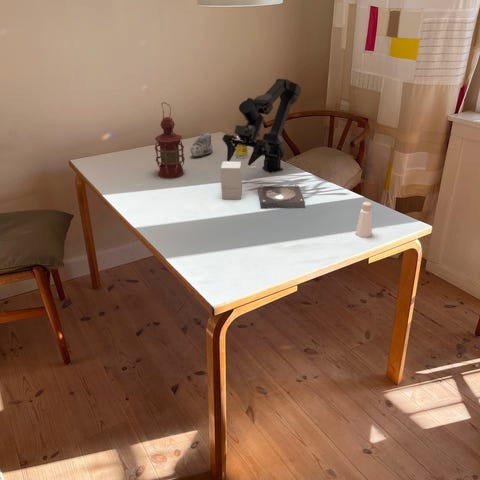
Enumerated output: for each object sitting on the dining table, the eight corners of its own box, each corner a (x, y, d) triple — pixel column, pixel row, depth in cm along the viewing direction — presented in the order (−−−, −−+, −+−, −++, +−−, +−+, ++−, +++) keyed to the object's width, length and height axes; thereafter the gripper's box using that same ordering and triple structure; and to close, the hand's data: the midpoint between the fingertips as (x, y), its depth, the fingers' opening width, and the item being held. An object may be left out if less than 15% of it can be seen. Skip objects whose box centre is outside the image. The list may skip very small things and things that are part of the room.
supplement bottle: (240, 153, 244) (239, 133, 240) (249, 155, 241) (249, 135, 237) (233, 156, 240) (233, 136, 236) (242, 159, 238) (242, 138, 233)
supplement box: (242, 192, 203) (242, 161, 197) (240, 199, 197) (240, 168, 191) (223, 191, 204) (222, 160, 198) (221, 199, 197) (220, 167, 191)
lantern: (190, 175, 220) (186, 103, 206) (165, 181, 214) (159, 108, 200) (177, 167, 229) (172, 97, 215) (151, 172, 223) (145, 102, 209)
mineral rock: (192, 159, 238) (191, 138, 233) (184, 153, 246) (182, 132, 241) (218, 155, 243) (217, 134, 238) (209, 149, 251) (208, 128, 246)
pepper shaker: (360, 228, 174) (363, 198, 169) (375, 233, 171) (378, 202, 166) (352, 234, 171) (355, 203, 165) (367, 239, 168) (370, 208, 162)
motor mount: (257, 191, 204) (257, 185, 202) (298, 190, 204) (299, 184, 203) (260, 208, 189) (260, 201, 188) (304, 207, 190) (305, 200, 189)
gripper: (224, 113, 199) (208, 148, 196) (267, 119, 190) (252, 156, 187) (235, 128, 209) (220, 162, 205) (276, 135, 200) (262, 171, 197)
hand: (238, 163), depth 198 cm, fingers open, 9 cm apart
